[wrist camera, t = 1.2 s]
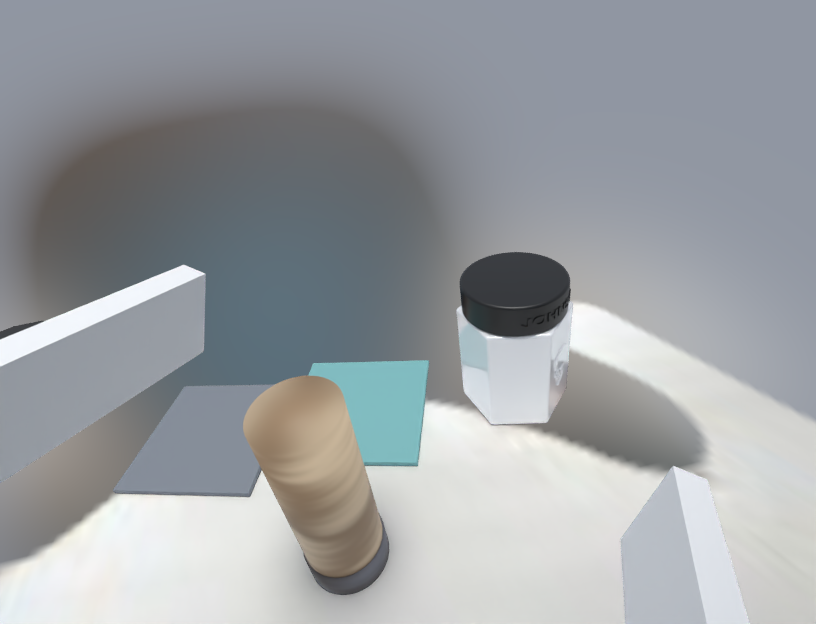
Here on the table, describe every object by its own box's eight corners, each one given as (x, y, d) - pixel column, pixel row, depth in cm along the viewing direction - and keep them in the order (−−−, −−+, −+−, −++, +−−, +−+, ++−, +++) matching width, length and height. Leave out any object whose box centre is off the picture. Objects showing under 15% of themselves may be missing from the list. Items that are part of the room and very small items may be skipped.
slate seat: (296, 387, 46) (295, 384, 46) (249, 496, 37) (248, 493, 36) (186, 389, 48) (184, 386, 48) (115, 493, 39) (112, 490, 38)
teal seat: (429, 363, 47) (428, 360, 46) (417, 465, 37) (416, 462, 37) (314, 366, 49) (313, 363, 48) (274, 464, 39) (273, 461, 39)
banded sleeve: (393, 516, 34) (355, 373, 26) (382, 597, 29) (331, 455, 21) (322, 514, 35) (263, 375, 27) (300, 592, 30) (222, 454, 22)
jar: (539, 444, 37) (543, 323, 30) (450, 409, 41) (436, 296, 34) (577, 374, 43) (588, 259, 36) (495, 349, 47) (491, 242, 40)
